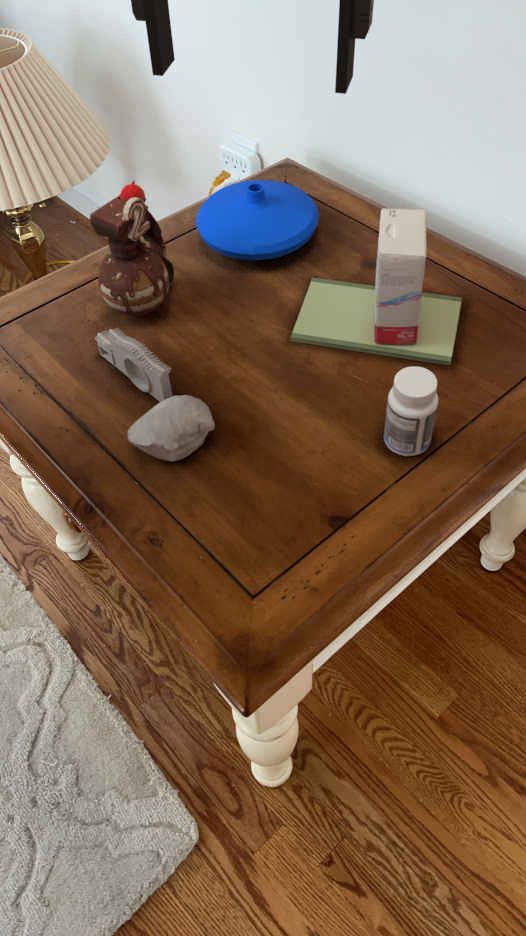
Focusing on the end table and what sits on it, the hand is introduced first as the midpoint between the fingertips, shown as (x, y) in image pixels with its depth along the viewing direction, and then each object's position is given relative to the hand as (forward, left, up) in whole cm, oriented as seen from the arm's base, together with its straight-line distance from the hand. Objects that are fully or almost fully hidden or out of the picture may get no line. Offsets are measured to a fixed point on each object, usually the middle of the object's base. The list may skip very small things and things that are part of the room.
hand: (252, 76), depth 54 cm
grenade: (-19, +11, -33) cm, 40 cm away
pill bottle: (+15, -3, -33) cm, 37 cm away
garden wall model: (-15, -1, -33) cm, 36 cm away
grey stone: (-8, -9, -33) cm, 35 cm away
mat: (+9, +14, -33) cm, 37 cm away
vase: (-9, +27, -33) cm, 43 cm away
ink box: (+11, +14, -33) cm, 37 cm away
